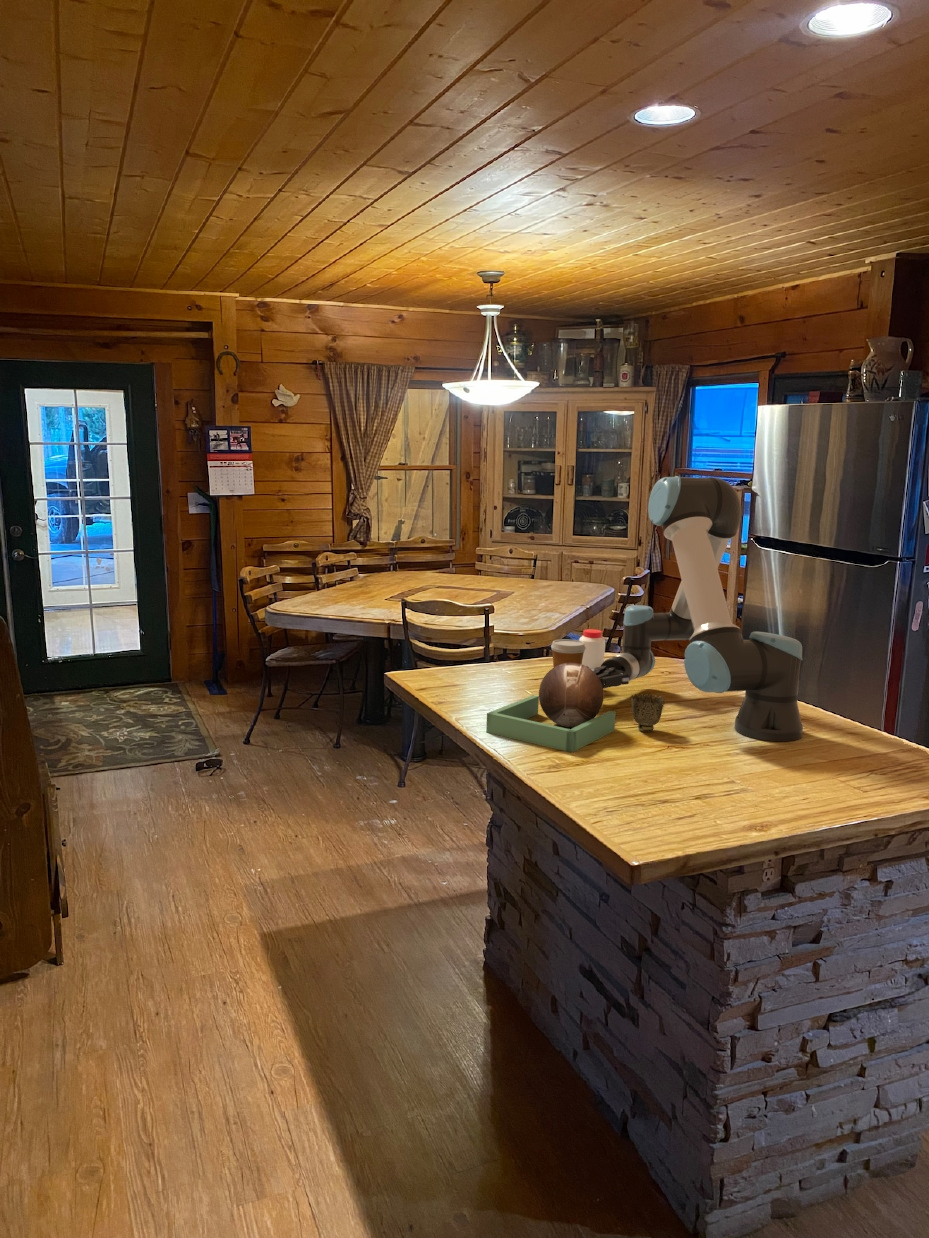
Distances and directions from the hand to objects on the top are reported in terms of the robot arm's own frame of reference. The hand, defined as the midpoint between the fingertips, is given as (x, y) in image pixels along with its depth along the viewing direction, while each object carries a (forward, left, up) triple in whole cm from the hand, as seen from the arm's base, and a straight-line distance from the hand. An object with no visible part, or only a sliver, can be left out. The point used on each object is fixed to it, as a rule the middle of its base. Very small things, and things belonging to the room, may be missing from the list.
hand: (575, 687), depth 221 cm
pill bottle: (+41, -37, -8) cm, 55 cm away
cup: (-16, -9, -8) cm, 20 cm away
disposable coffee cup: (+26, -17, -8) cm, 32 cm away
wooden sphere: (-6, +6, -8) cm, 11 cm away
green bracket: (-7, +11, -7) cm, 15 cm away
